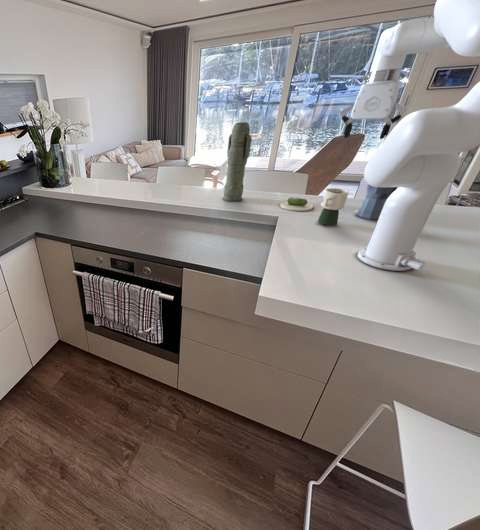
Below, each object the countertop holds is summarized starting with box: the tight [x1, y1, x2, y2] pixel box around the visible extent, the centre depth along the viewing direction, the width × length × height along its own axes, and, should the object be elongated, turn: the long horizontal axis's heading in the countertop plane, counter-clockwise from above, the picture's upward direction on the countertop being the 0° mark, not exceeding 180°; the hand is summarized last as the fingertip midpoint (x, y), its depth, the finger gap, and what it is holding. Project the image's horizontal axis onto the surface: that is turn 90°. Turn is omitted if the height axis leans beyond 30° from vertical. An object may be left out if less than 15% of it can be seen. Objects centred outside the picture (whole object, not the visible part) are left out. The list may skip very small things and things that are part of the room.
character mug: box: [317, 187, 349, 226], centre depth 108 cm, size 11×7×13 cm, turn 120°
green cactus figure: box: [223, 122, 252, 203], centre depth 137 cm, size 9×12×35 cm
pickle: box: [286, 196, 308, 206], centre depth 129 cm, size 8×3×3 cm, turn 46°
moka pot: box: [356, 184, 398, 221], centre depth 108 cm, size 10×15×20 cm, turn 174°
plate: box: [279, 200, 314, 212], centre depth 130 cm, size 13×13×1 cm
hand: (363, 137), depth 97 cm, fingers open, 9 cm apart
